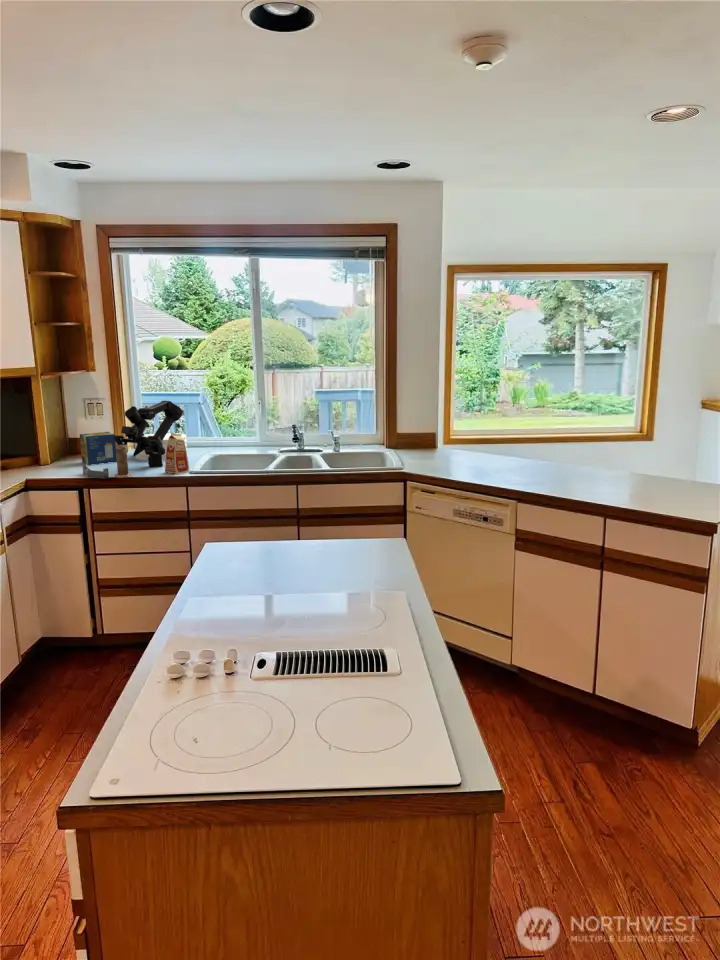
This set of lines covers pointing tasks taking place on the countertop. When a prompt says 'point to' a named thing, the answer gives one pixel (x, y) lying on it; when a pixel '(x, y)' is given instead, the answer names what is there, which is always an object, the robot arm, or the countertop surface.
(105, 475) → the gray curved bracket
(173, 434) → the milk carton
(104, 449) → the protein box
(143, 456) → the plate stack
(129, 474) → the trivet
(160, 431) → the robot arm
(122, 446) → the pepper mill
